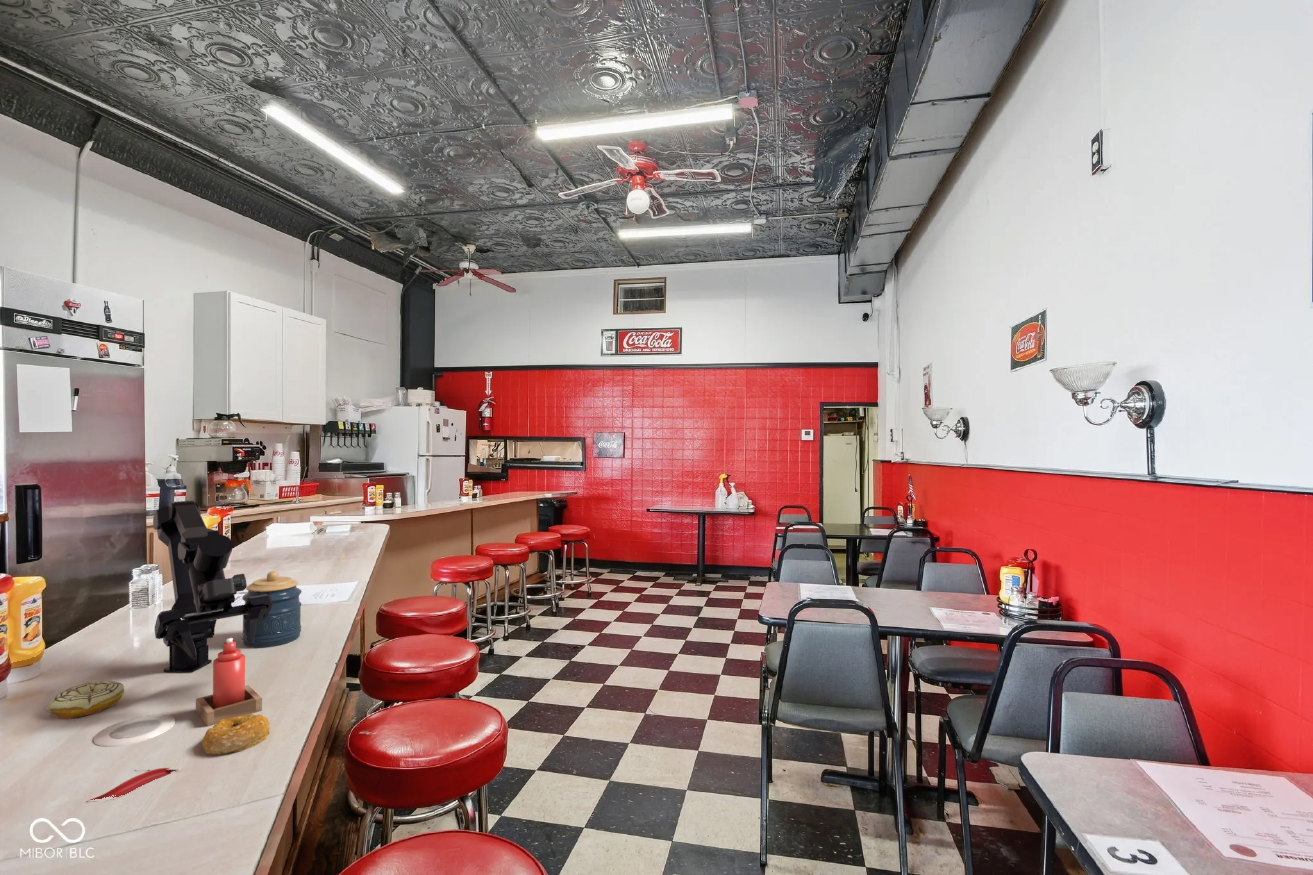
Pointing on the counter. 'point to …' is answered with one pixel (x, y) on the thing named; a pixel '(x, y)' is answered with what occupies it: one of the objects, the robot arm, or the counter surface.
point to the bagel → (236, 734)
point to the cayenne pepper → (136, 782)
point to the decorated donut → (86, 699)
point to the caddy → (228, 707)
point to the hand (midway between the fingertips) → (224, 652)
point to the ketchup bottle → (228, 676)
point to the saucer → (134, 730)
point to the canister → (276, 611)
